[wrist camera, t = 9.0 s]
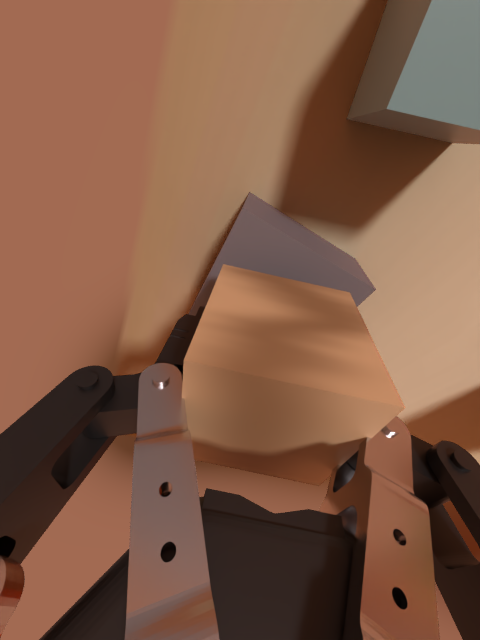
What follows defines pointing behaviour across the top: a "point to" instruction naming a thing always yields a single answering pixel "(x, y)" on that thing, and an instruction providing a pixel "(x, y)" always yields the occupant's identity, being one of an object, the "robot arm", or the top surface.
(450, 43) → the teal block
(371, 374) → the oak block
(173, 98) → the top surface
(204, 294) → the charcoal block
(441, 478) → the robot arm
